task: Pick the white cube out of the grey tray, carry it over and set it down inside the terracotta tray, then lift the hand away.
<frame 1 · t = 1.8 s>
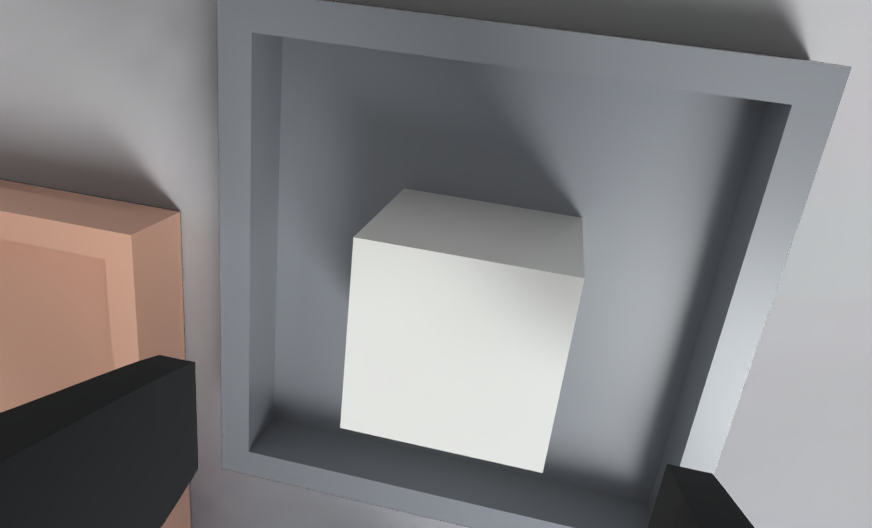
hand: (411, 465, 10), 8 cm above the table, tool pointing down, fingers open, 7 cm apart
grey tray: (482, 276, 17), on the table
white cube: (478, 285, 17), point 1 cm above the table, touching grey tray
terracotta tray: (12, 361, 21), on the table
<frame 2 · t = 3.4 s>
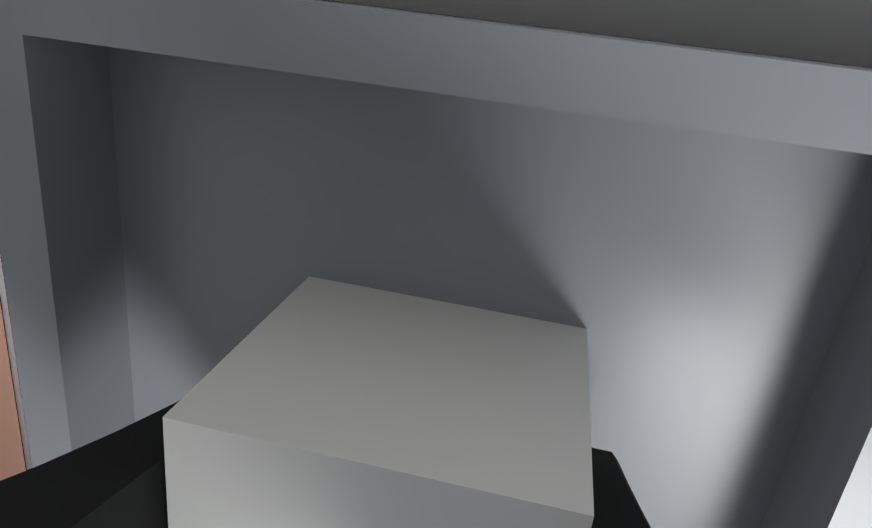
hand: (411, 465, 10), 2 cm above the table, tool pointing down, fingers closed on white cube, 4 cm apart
grey tray: (435, 400, 11), on the table
white cube: (428, 420, 11), point 1 cm above the table, touching grey tray, gripper
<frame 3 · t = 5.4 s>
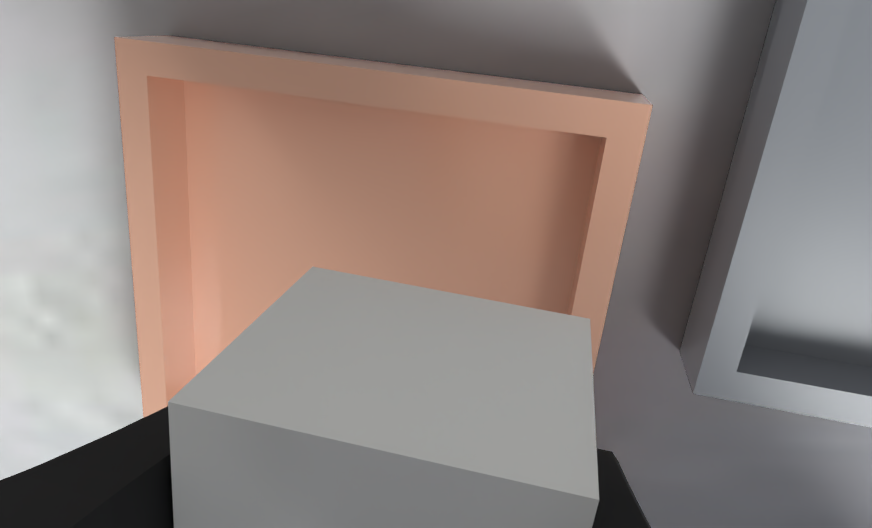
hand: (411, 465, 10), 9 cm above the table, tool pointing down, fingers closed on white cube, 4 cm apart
white cube: (431, 410, 11), point 8 cm above the table, touching gripper
terracotta tray: (375, 287, 19), on the table
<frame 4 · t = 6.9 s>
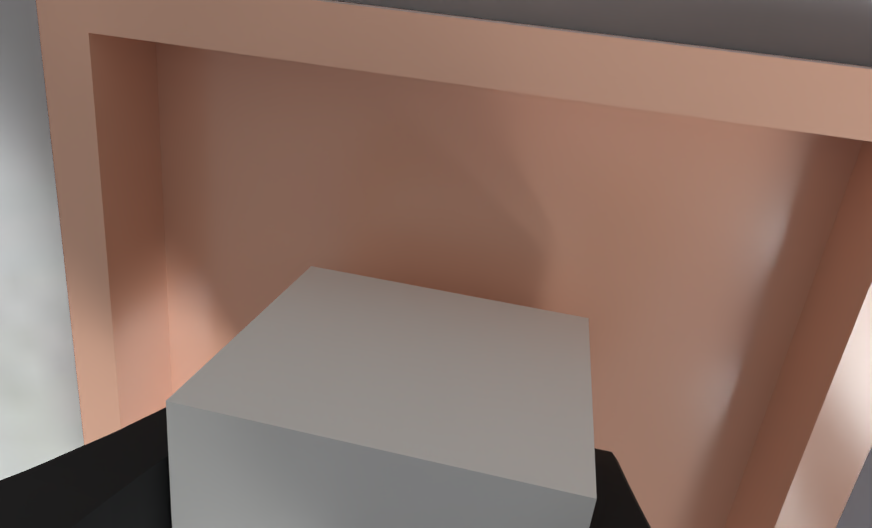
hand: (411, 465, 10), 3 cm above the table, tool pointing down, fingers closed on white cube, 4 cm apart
white cube: (429, 410, 11), point 2 cm above the table, touching gripper
terracotta tray: (447, 367, 12), on the table
when the fingers open (3 cm above the table, at t = 7.7 s): white cube drops 1 cm, resting on terracotta tray.
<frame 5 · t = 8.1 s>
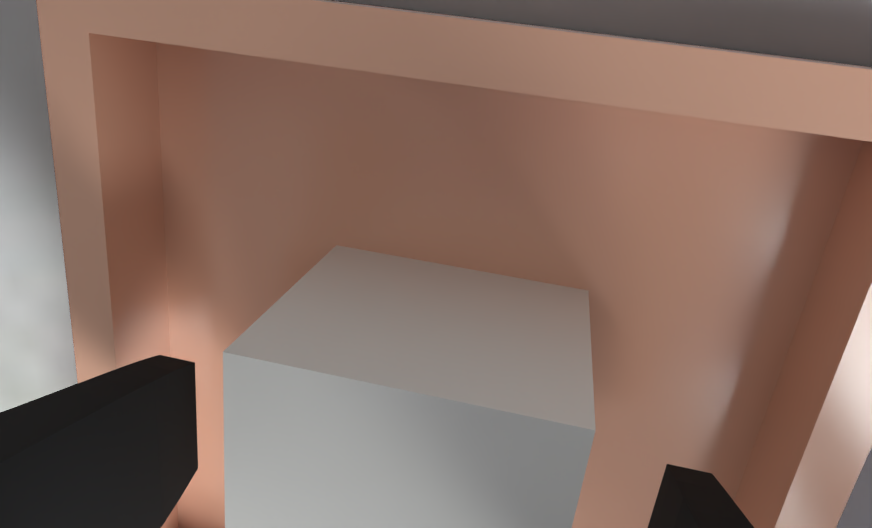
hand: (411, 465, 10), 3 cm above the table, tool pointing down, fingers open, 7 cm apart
white cube: (443, 377, 12), point 1 cm above the table, touching terracotta tray
terracotta tray: (447, 367, 12), on the table
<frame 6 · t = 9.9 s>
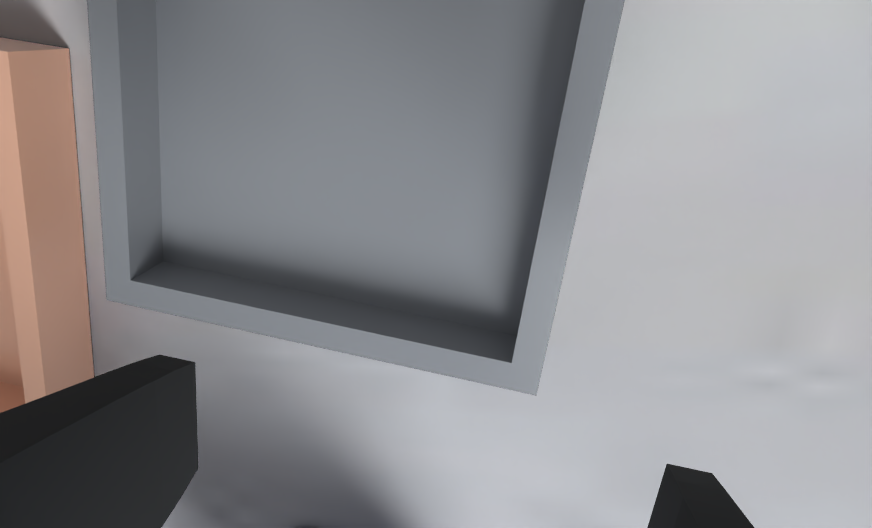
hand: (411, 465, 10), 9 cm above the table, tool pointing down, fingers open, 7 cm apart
grey tray: (355, 107, 18), on the table
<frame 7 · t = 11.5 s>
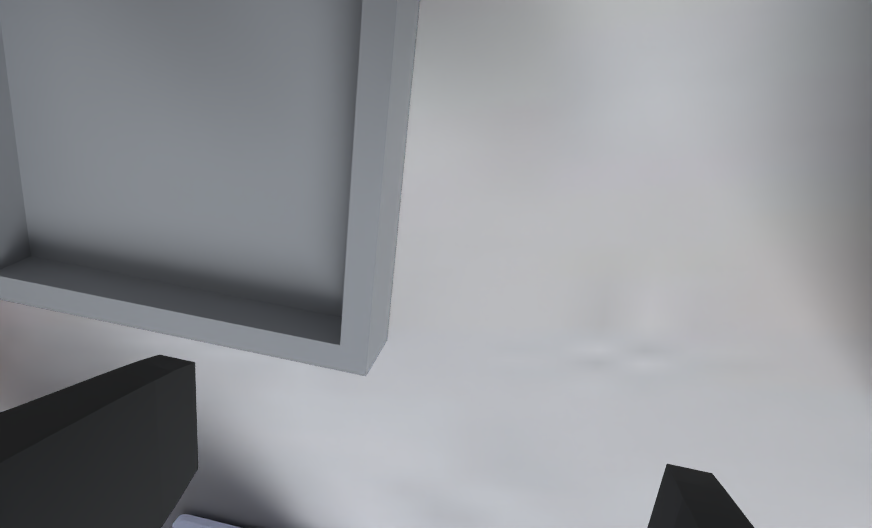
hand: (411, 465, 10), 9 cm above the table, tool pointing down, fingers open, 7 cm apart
grey tray: (193, 104, 19), on the table
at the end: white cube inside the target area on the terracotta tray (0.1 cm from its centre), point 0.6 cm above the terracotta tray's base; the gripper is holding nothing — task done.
